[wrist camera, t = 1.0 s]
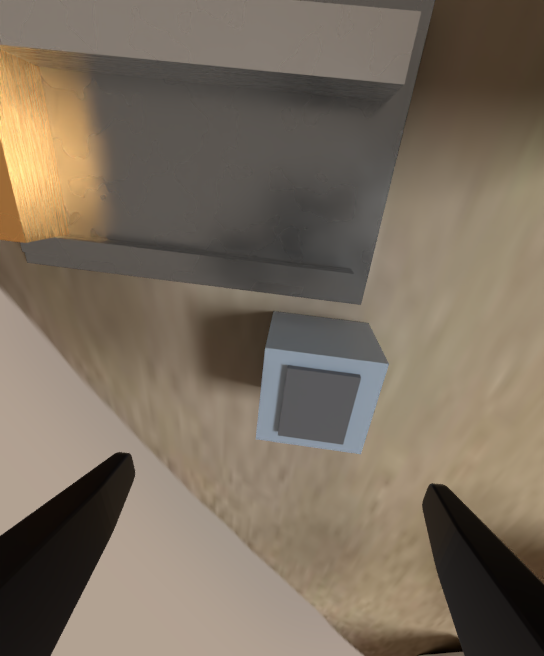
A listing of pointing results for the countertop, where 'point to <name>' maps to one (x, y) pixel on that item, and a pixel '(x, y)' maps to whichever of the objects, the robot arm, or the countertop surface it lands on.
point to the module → (319, 382)
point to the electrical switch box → (446, 654)
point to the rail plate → (206, 136)
